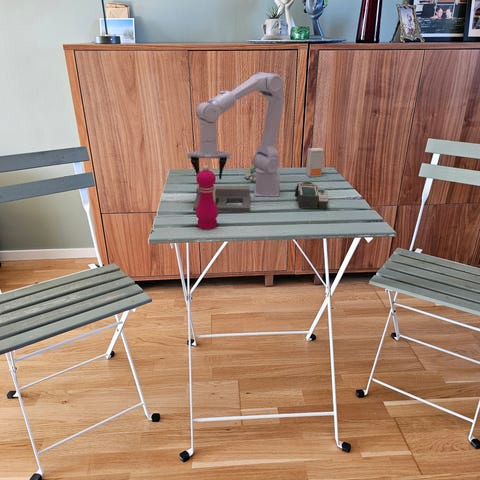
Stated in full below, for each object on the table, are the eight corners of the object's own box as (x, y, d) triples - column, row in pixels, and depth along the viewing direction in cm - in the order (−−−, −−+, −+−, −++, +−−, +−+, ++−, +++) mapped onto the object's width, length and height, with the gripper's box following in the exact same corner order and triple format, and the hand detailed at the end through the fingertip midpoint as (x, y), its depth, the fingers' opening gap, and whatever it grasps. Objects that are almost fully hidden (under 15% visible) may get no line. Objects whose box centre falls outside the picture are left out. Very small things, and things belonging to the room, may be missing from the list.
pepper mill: (201, 231, 127) (199, 170, 118) (192, 223, 133) (190, 164, 124) (222, 227, 130) (221, 167, 121) (212, 219, 136) (211, 161, 127)
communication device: (322, 189, 166) (324, 168, 162) (328, 211, 144) (331, 187, 140) (293, 188, 167) (294, 167, 163) (294, 209, 145) (296, 185, 141)
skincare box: (308, 177, 178) (311, 150, 173) (305, 174, 182) (307, 148, 176) (321, 176, 179) (324, 149, 174) (317, 173, 183) (320, 147, 178)
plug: (215, 202, 150) (215, 184, 146) (215, 207, 145) (214, 189, 142) (205, 202, 150) (204, 184, 147) (203, 207, 145) (203, 189, 142)
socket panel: (249, 195, 156) (249, 185, 155) (249, 211, 142) (250, 200, 140) (197, 195, 157) (197, 184, 155) (193, 211, 142) (192, 199, 140)
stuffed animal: (239, 170, 169) (247, 157, 178) (240, 185, 173) (248, 172, 182) (264, 172, 166) (271, 159, 175) (264, 187, 170) (271, 174, 180)
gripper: (185, 142, 133) (187, 181, 140) (229, 142, 133) (229, 182, 139) (188, 137, 140) (190, 175, 146) (230, 138, 140) (230, 175, 146)
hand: (209, 178), depth 143 cm, fingers open, 7 cm apart
